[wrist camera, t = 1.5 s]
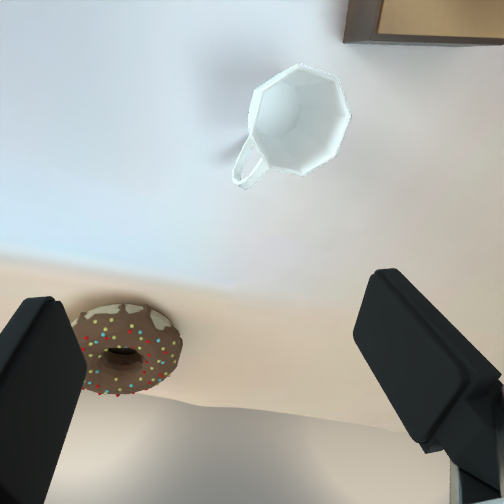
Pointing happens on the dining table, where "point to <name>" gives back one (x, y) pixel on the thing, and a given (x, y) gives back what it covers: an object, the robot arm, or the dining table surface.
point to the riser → (425, 22)
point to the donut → (126, 336)
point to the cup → (294, 123)
